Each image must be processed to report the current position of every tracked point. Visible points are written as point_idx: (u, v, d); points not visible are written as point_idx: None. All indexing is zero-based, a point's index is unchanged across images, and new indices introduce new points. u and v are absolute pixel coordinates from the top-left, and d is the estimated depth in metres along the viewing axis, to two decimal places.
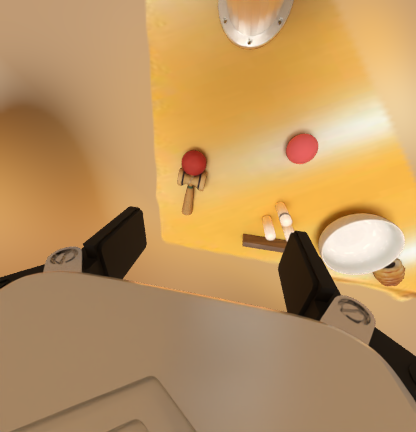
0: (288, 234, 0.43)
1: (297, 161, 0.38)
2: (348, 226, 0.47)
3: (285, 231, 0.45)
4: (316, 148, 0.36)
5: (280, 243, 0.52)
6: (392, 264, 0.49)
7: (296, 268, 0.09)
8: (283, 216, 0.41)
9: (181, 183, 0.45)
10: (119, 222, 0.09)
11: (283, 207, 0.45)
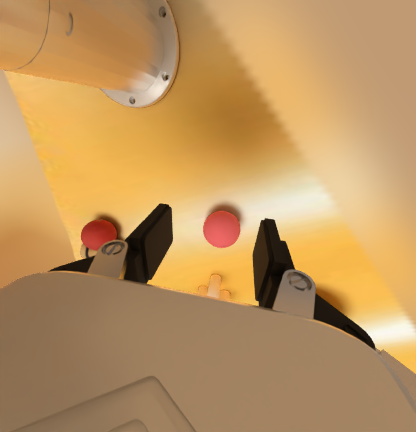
0: None
1: (215, 246, 0.29)
2: None
3: None
4: (234, 234, 0.27)
5: None
6: None
7: (261, 250, 0.10)
8: None
9: (87, 257, 0.36)
10: (155, 218, 0.10)
11: (214, 286, 0.36)
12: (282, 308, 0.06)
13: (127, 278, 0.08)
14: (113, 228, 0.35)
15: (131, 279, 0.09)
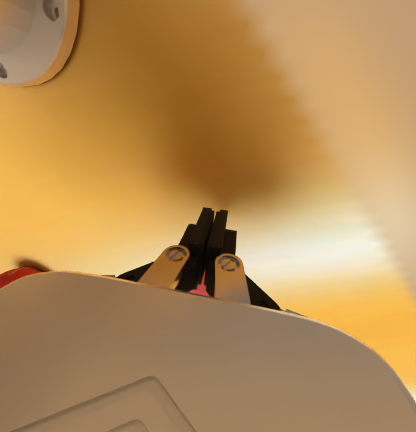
0: None
1: None
2: None
3: None
4: None
5: None
6: None
7: None
8: None
9: None
10: (205, 222, 0.10)
11: None
12: (223, 295, 0.06)
13: (180, 287, 0.08)
14: None
15: (189, 285, 0.09)
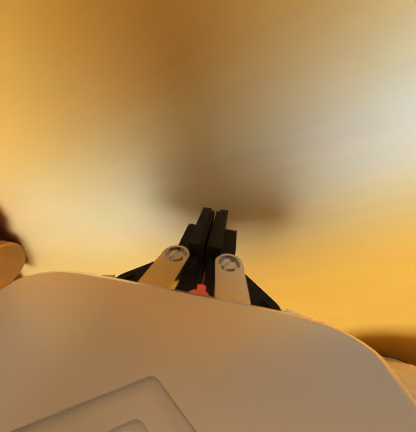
0: None
1: (199, 293, 0.15)
2: None
3: None
4: None
5: None
6: None
7: None
8: None
9: None
10: (205, 222, 0.10)
11: None
12: (223, 295, 0.06)
13: (180, 287, 0.08)
14: None
15: (189, 285, 0.09)
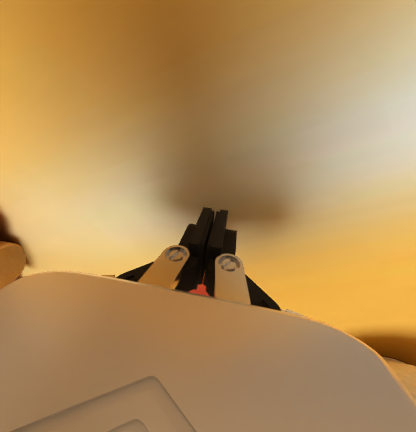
0: None
1: (199, 293, 0.15)
2: None
3: None
4: None
5: None
6: None
7: None
8: None
9: None
10: (205, 222, 0.10)
11: None
12: (223, 295, 0.06)
13: (180, 287, 0.08)
14: None
15: (189, 285, 0.09)
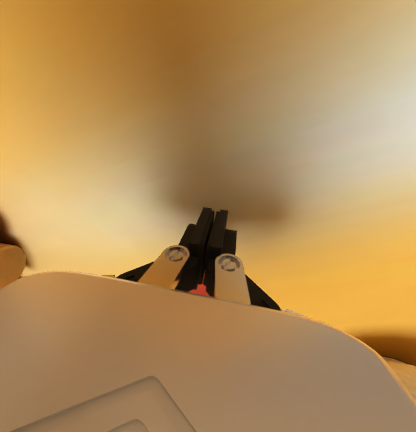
0: None
1: (199, 293, 0.15)
2: None
3: None
4: None
5: None
6: None
7: None
8: None
9: None
10: (205, 222, 0.10)
11: None
12: (223, 295, 0.06)
13: (180, 287, 0.08)
14: None
15: (189, 285, 0.09)
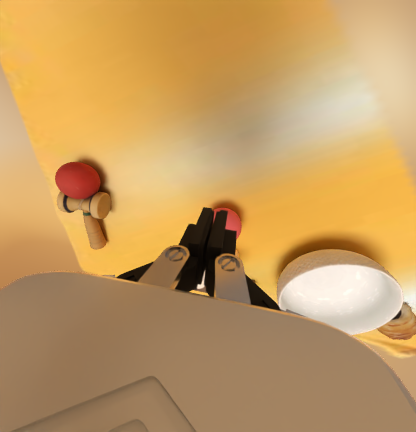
0: None
1: (220, 208, 0.28)
2: None
3: None
4: None
5: None
6: None
7: None
8: None
9: (66, 210, 0.31)
10: (205, 222, 0.10)
11: None
12: (223, 295, 0.06)
13: (180, 287, 0.08)
14: (95, 172, 0.30)
15: (189, 285, 0.09)
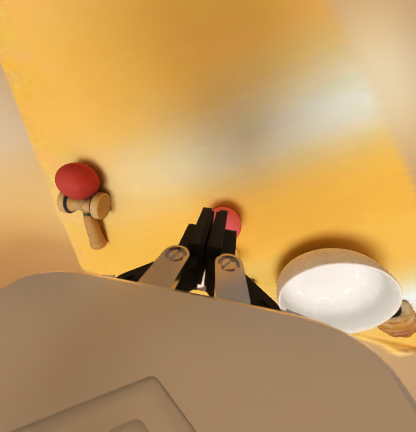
0: None
1: (220, 207, 0.28)
2: None
3: None
4: None
5: None
6: None
7: None
8: None
9: (66, 210, 0.31)
10: (205, 222, 0.10)
11: None
12: (223, 295, 0.06)
13: (180, 287, 0.08)
14: (94, 173, 0.30)
15: (189, 285, 0.09)
